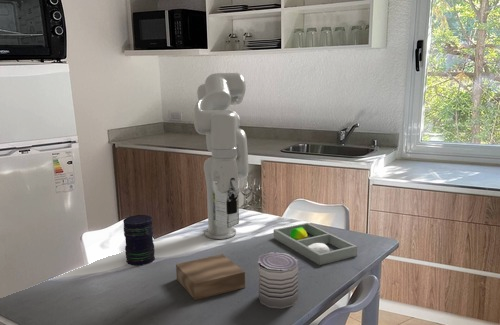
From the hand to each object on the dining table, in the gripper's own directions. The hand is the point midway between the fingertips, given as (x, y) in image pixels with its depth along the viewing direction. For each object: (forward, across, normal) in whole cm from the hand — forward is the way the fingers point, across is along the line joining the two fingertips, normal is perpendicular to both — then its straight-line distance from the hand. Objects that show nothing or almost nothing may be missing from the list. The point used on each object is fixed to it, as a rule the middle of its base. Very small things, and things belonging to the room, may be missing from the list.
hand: (226, 209), depth 141 cm
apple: (+22, -12, +37) cm, 44 cm away
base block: (+22, +1, -7) cm, 23 cm away
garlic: (+22, 0, +36) cm, 42 cm away
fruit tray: (+22, -7, +38) cm, 45 cm away
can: (+22, +20, +6) cm, 31 cm away
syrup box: (+5, 0, 0) cm, 5 cm away
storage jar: (+22, -28, -20) cm, 41 cm away
